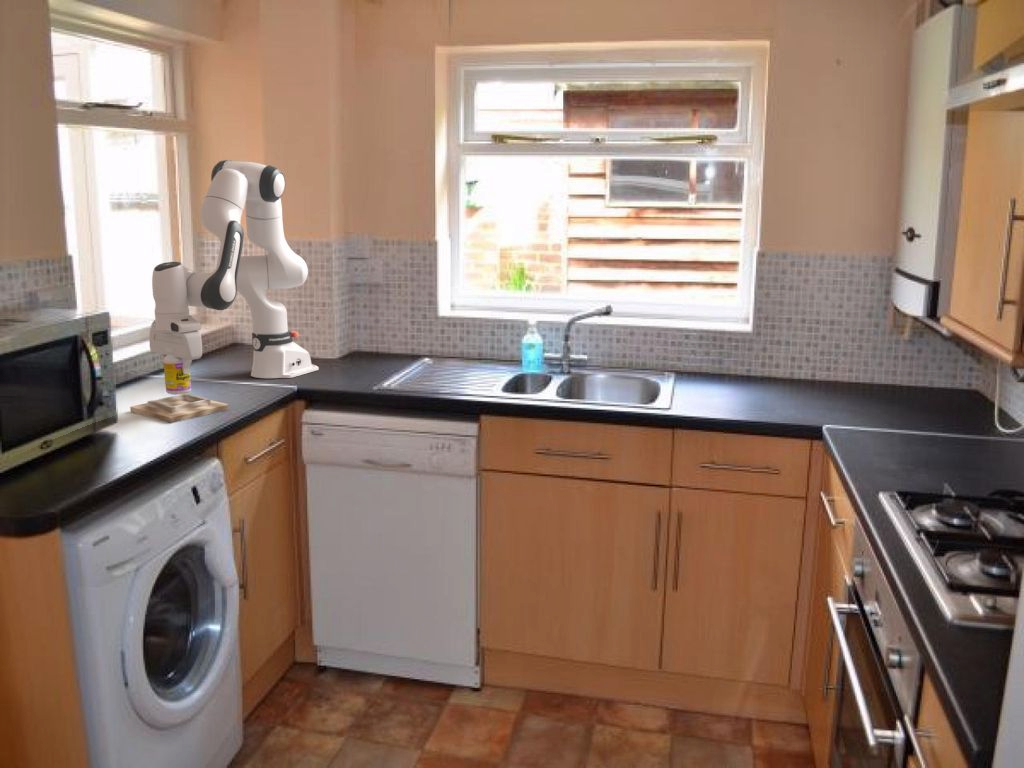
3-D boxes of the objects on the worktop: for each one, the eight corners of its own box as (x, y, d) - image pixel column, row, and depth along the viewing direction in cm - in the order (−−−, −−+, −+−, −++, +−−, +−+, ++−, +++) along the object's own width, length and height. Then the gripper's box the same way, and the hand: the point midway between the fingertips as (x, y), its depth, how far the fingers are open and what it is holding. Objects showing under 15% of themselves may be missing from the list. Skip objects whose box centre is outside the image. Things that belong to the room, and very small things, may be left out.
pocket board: (187, 399, 271) (187, 389, 270) (229, 409, 259) (228, 399, 258) (130, 411, 257) (129, 401, 256) (171, 423, 245) (170, 412, 244)
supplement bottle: (176, 396, 252) (172, 350, 249) (161, 393, 256) (156, 347, 253) (196, 391, 258) (192, 345, 255) (181, 388, 261) (176, 343, 258)
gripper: (141, 320, 256) (146, 369, 259) (183, 327, 244) (188, 378, 247) (161, 317, 261) (166, 365, 264) (204, 324, 249) (208, 374, 252)
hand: (177, 371), depth 255 cm, fingers closed on supplement bottle, 7 cm apart
